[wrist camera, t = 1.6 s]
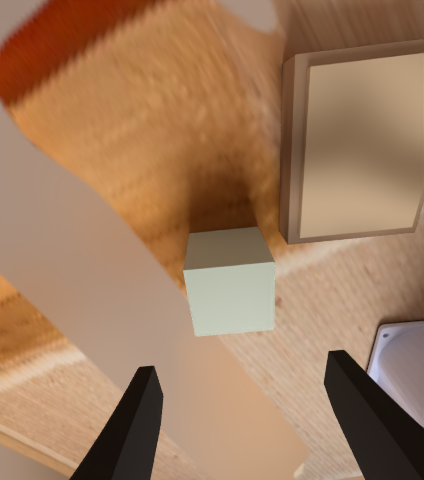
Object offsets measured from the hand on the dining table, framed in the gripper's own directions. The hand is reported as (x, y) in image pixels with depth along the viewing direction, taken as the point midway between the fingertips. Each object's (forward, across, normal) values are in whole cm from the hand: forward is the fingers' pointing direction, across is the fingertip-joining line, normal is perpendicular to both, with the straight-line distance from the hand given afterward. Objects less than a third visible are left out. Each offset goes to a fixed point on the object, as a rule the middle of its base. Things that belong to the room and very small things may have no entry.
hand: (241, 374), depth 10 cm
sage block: (+10, 0, 0) cm, 10 cm away
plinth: (+9, -8, -7) cm, 14 cm away
